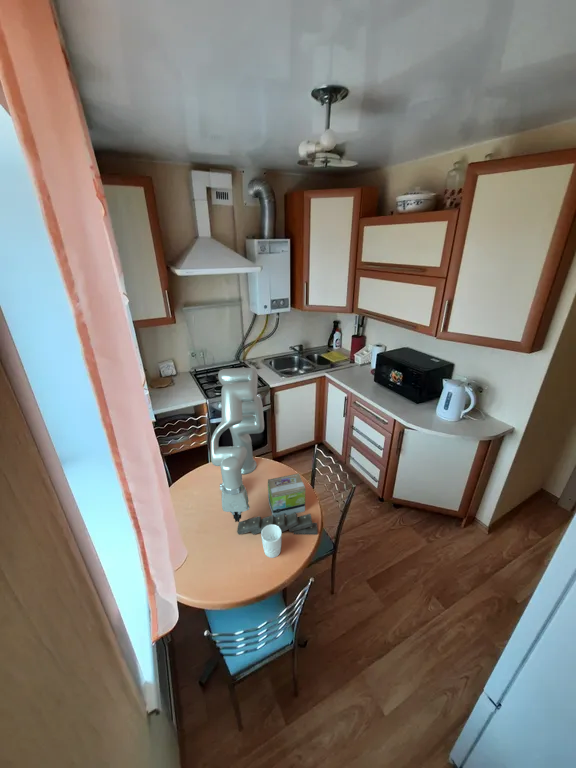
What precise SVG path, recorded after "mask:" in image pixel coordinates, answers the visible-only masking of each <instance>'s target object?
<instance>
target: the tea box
mask: <svg viewBox="0 0 576 768" xmlns="http://www.w3.org/2000/svg"><path fill="white" fill-rule="evenodd" d="M267 493H268V494H267V497H268V504H269V508H270V510H271V515H273V516H274V517H277V516H280V515H282V514H284V515H285V516H288V515H290V514H292V513H294V512H296V514H300V513H303V512H305V511H306V486H305V483H304V481H303V479H302V477H301V475H300V473H294V474H289V475H284V476H280V477H279V476H278V477H275V478H270V479H267Z"/></svg>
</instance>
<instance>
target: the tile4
mask: <svg viewBox="0 0 576 768" xmlns="http://www.w3.org/2000/svg"><path fill="white" fill-rule="evenodd" d="M297 517H298V522H299V524H297V525H295V526H293V527H292V528H290V529H288V530H289V533H291V532H294V531H296V530H300V529H303V528H307V527H311V526H313V524H312V523H313V520H312V515H311V513H308V514H307V513H306V514H302V515H300V516H297Z"/></svg>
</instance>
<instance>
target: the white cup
mask: <svg viewBox="0 0 576 768" xmlns="http://www.w3.org/2000/svg"><path fill="white" fill-rule="evenodd" d="M282 533H283V532H281V529H280V528H279V527H278V526H277V525H273V524H271V525H267V526H265V527H264V528H263V529H262V532H260V535H261V542H262V547H263V551H264V554H265V556H266V557H268V558H271V559H273V558H277V557H278V556H279V555H280V554H281V551H282Z"/></svg>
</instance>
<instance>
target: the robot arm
mask: <svg viewBox="0 0 576 768" xmlns="http://www.w3.org/2000/svg"><path fill="white" fill-rule="evenodd" d="M217 374H218V375H217V376H218V382H219V383H220V384H221V385H222V387H221V395H220V396H221V422H220V423H219V424H218V426H216V428H215V430H214V431H213V433H212V435H211V440H210V461H211V463H212V465H214V466H215V467H220V473H221V481H222V482H221V483H219V488H220V487H222V488H223V489H222V491H221V508H222V511H223V512H225V513H226V512H227V513H231V515H232V516H233V519H234V522H235V523H239V522H240V520H241V519H242V513H243V512H246V511H249V510H250V504H249V497H248V491H247V489H246V487H245V485H244V483H243V475H247V474H251V473H252V472H254V471H255V470H256V468H257V461H256V460H255V459H254V456H253V455H254V454H253V446H252V445H253V443H252V438H251V436H250V435H253V434H262V433H263V432H264V430H265V418H264V406H263V401H262V398H261V397H260V396H259V395H258V378H259V377H258V372H257V370H256V369H255V368H254V367H241V368H240V367H237V368H235V367H233V368H223V369H220V370H219V371H218V373H217ZM228 429H229V431H230V434H231V438H232V446H231V445H230V446H219V441H220V437H221V435H223V433H224V432H225V431H227V430H228Z"/></svg>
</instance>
